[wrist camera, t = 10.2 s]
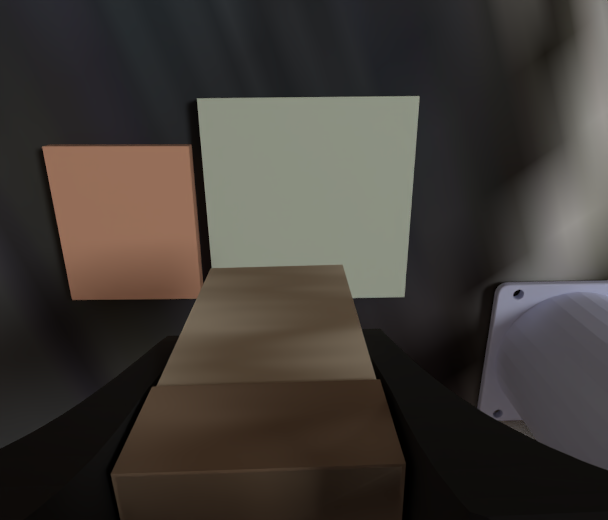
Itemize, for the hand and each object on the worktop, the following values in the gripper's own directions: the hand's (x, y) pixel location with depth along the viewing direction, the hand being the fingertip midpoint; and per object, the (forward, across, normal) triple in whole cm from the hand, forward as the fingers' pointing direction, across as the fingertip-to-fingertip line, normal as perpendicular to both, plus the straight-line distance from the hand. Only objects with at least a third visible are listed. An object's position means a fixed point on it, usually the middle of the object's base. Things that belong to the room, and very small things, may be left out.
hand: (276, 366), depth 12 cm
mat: (+10, -1, -2) cm, 11 cm away
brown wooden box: (+3, 0, 0) cm, 3 cm away
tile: (+10, +7, +3) cm, 13 cm away
